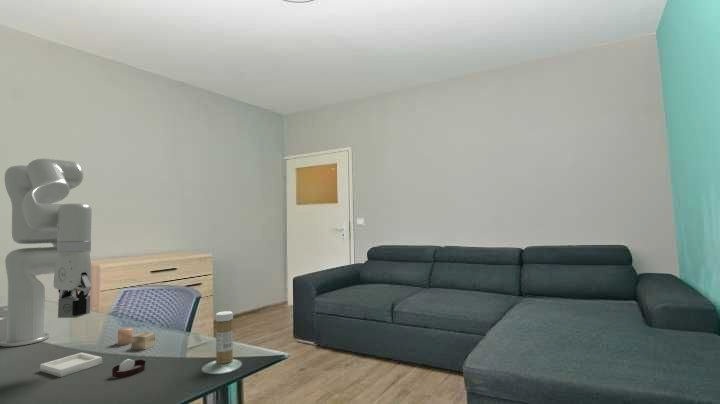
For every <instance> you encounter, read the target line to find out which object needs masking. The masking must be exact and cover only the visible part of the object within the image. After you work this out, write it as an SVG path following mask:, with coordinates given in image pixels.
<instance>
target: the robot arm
mask: <svg viewBox="0 0 720 404" xmlns="http://www.w3.org/2000/svg"><path fill="white" fill-rule="evenodd" d="M83 179H84V171H83V168H82V167H81V165H80V164H79V163H77V162H75V161H71V160H64V159H63V160H62V159H53V158H52V159H51V158H37V159H33V160H32V161H30V162H29V163H28V164H27V165H25V164H24V165H21V164H20V165H13V166H9V167H8V168H7V169H6V171H5V173H4V186H5V190H6V192H7V195H8V196H9V199H10V202H11V237H12V240H13V242H15V243H16V244H20V245H35V244H36V245H37V244H52V245H53V246H46V247H44V246H41V247H40V246H38V247H26V248H25V247H24V248H18V249H17V248H16V249H14V250H11V251H10V252H8V253H7V255H6V256H5V261H4V263H5V265H4V266H5V271H6V276H7V318H6V338H3V339H2V340H0V346H1V347H5V348H6V347H18V346H25V345H30V344H35V343H39V342H42V341H45V340H47V339H49V338H50V332H46V331H45V303H46V302H45V300H46V297H45V295H46V293H45V292H46V288H45V285H44V283H42V282H41V280H40V279H38V278H37V277H36V276H41V275H51V274H53V288H54V289H56V290H57V292H58V294H59V295H58V300H59V299H61V298H65V297H69V296H73V295H74V300H75V301H73V303H72V315H73V316H77V315H82V314H86V307H87V298H88V295H90V291H91V290H92V285H91V284H92V263H91V254H90V253H92V217H93V215H92V211H93V210H92V207H91V206H90V204H86V203H57V202H60V201H62V200H64V199H65V198H67V197H68V195H69V194H70V191H71V190H73V189H75V188H77V187H78V186H80V185H81V184H82V182H83ZM86 315H87V314H86Z"/></svg>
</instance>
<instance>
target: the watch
mask: <svg viewBox="0 0 720 404" xmlns="http://www.w3.org/2000/svg"><path fill="white" fill-rule="evenodd" d="M146 363H147V362H146V360H144V359H135V360H133V359H129V358H127V359H125V360H122V362H121V363H119V365H116V366H113V368H112V370H111V375H112V377H114V378H115V379H116V378H117V379H119V378H120V379H121V378H125V377H129V376H132V375H136V374H138V373H141V372H143V371H145V368H146ZM134 367H136V368H134Z"/></svg>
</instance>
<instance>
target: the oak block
mask: <svg viewBox="0 0 720 404" xmlns="http://www.w3.org/2000/svg"><path fill="white" fill-rule="evenodd" d="M155 343H156V333H154V332H140V333H137V334H133V336H132V343H131V346H130V347H131V350H141V349H146V350H148V349H150V348H152V346H153V347H154V345H155V346H156V344H155ZM147 348H148V349H147Z"/></svg>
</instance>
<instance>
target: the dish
mask: <svg viewBox="0 0 720 404" xmlns="http://www.w3.org/2000/svg"><path fill="white" fill-rule="evenodd" d="M102 364H103V357H102V356H99V355H94V354H91V353H90V354H89V353H86V352H78V353H76V354H71V355H68V356H65V357H62V358H61V357H60V358H58V359H55V360H51V361H47V362H44V363H40V370H39V371H40V372H42V373H44V374H45V373H46V374H49V375H51V376H52V375H53V376H55V377H58V378H62V377H63V378H64V377H65V376H68V375H71V374H74V373H77V372H81V371H84V370H86V369H90V368H94V367H95V366H99V365H102Z"/></svg>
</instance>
